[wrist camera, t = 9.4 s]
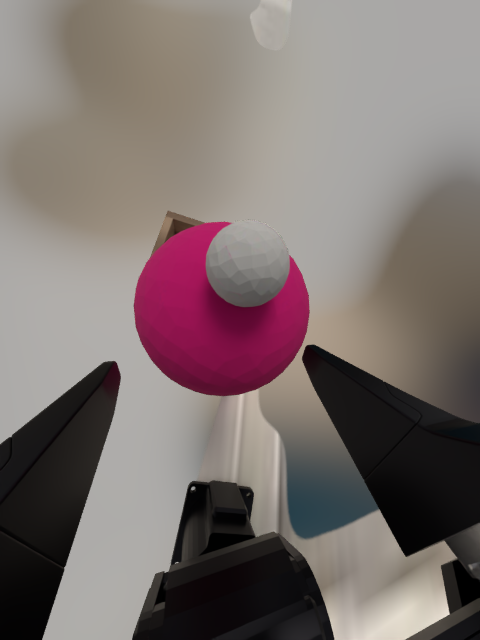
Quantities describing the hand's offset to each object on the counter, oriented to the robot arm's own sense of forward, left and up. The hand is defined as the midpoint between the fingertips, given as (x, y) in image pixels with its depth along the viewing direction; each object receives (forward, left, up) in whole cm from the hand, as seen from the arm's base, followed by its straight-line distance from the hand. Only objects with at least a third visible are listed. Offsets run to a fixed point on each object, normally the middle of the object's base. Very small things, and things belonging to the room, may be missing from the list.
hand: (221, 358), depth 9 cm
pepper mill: (+2, 0, -13) cm, 14 cm away
